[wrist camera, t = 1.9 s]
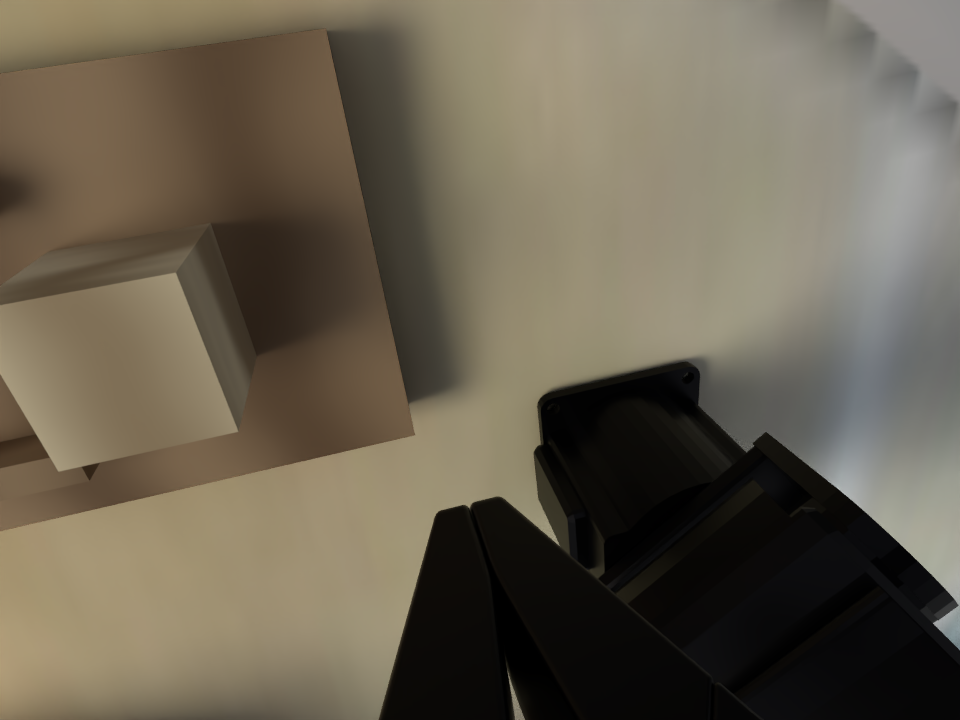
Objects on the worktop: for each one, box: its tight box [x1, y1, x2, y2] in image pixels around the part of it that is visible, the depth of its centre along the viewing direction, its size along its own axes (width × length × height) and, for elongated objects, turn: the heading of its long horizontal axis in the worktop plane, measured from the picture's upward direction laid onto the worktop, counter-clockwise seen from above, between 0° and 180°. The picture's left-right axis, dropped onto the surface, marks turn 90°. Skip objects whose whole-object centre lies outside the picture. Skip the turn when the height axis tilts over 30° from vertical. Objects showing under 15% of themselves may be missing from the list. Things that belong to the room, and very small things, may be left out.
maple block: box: [0, 223, 257, 472], centre depth 15 cm, size 4×4×4 cm
